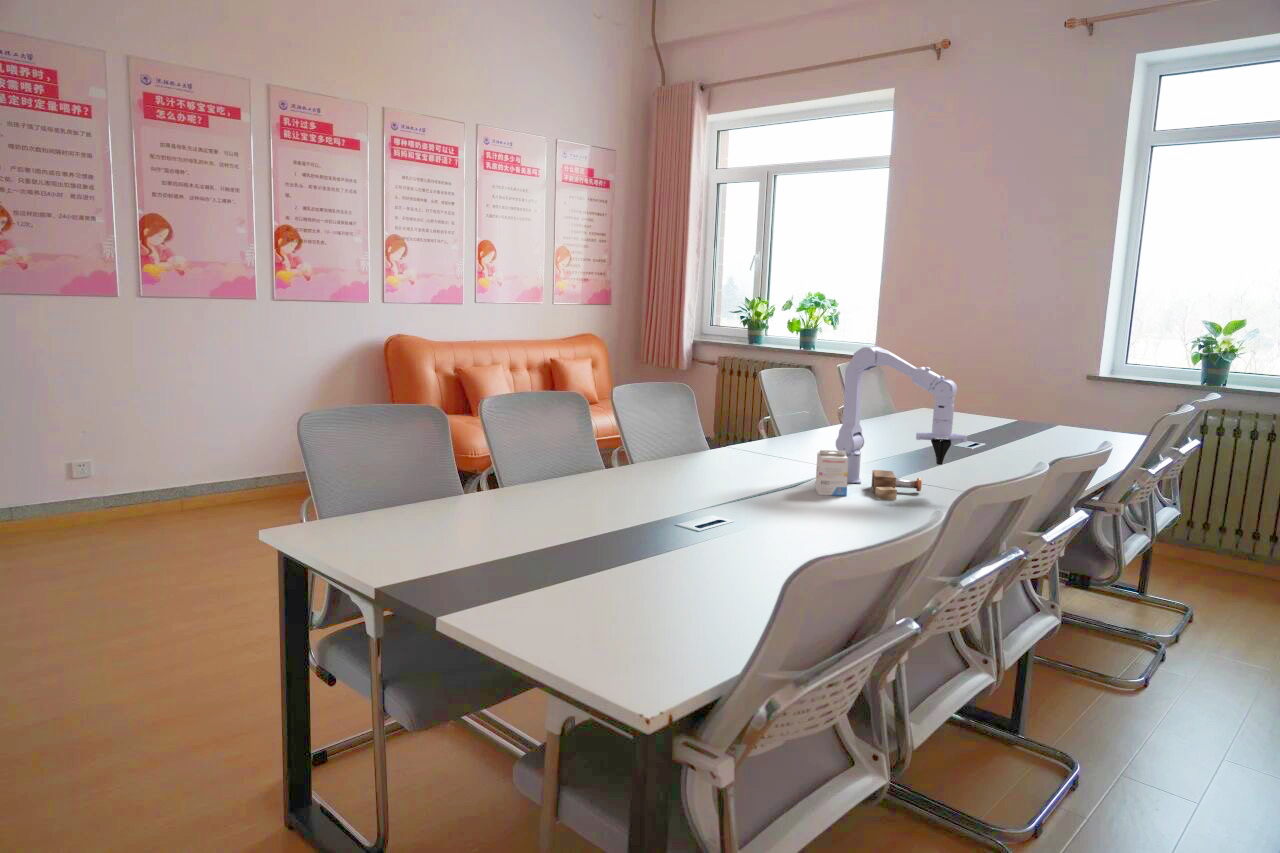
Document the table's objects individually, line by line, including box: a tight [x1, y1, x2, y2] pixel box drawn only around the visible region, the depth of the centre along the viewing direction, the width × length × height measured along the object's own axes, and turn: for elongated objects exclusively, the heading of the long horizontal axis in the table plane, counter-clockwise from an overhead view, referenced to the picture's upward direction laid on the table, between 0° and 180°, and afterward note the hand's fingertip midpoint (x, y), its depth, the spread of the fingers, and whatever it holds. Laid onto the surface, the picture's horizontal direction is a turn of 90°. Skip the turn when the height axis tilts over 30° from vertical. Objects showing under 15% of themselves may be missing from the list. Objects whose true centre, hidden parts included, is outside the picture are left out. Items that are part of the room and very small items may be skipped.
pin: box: [895, 477, 922, 492], centre depth 263 cm, size 12×4×4 cm, turn 79°
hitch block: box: [871, 469, 897, 495], centre depth 264 cm, size 6×10×5 cm, turn 169°
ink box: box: [815, 449, 848, 497], centre depth 259 cm, size 9×8×13 cm
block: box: [874, 487, 898, 500], centre depth 255 cm, size 5×4×3 cm
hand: (939, 464), depth 260 cm, fingers closed
